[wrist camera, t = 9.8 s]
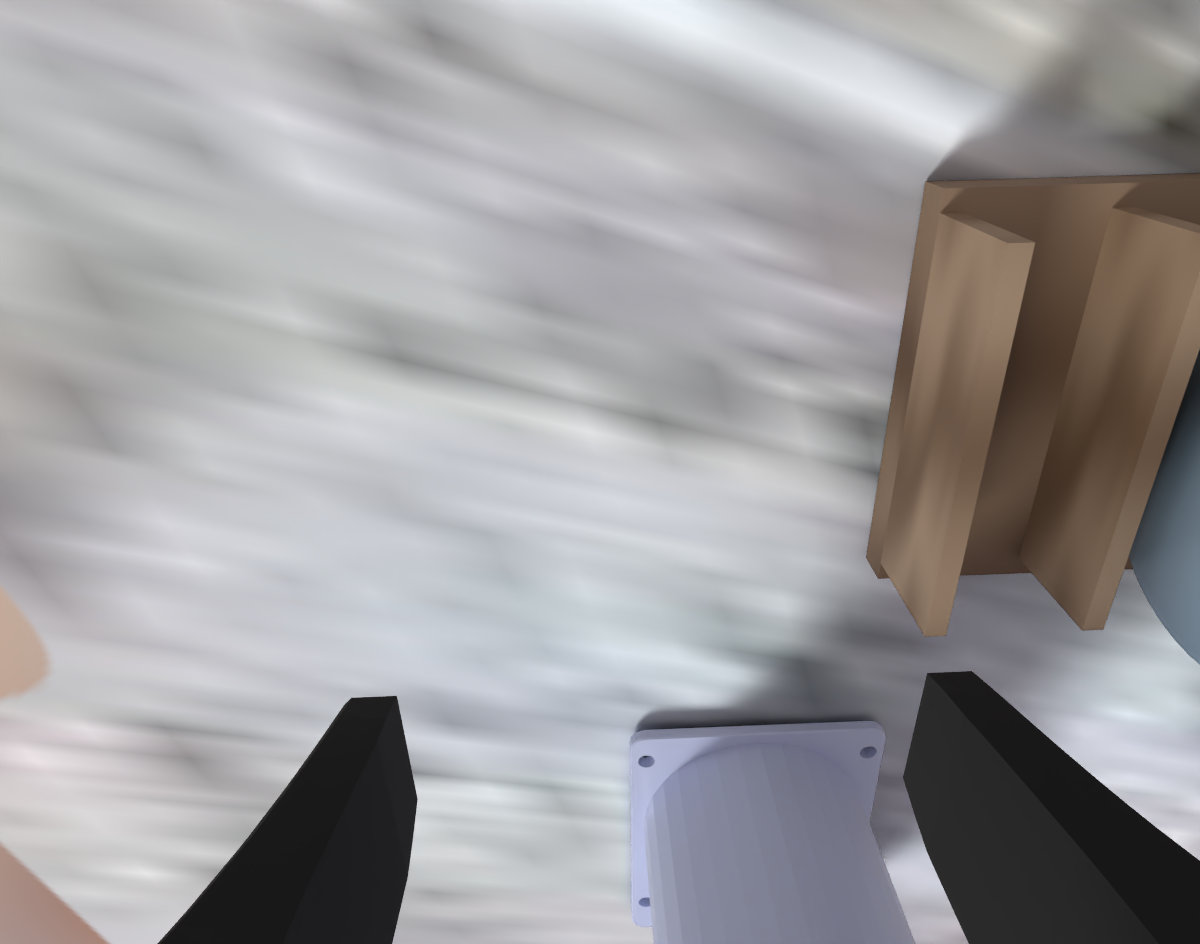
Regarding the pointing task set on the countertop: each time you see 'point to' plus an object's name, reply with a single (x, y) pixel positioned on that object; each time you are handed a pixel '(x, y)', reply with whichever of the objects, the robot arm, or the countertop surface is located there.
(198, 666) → the countertop surface
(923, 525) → the rack
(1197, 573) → the grey rounded disc
